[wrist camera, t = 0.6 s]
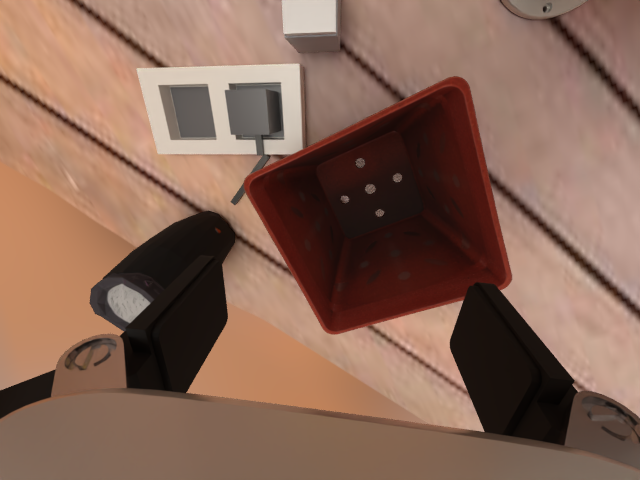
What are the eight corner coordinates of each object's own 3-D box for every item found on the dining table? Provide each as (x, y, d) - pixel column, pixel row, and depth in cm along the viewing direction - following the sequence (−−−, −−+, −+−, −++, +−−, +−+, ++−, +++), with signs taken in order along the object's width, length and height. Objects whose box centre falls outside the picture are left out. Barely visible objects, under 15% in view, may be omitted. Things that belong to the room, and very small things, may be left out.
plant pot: (280, 152, 39) (236, 180, 24) (415, 86, 34) (467, 68, 19) (334, 262, 46) (327, 338, 31) (454, 220, 41) (515, 287, 26)
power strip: (152, 71, 36) (113, 64, 30) (303, 67, 34) (293, 58, 28) (182, 202, 44) (156, 217, 38) (308, 205, 42) (300, 221, 36)
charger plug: (297, 0, 32) (278, -37, 23) (340, -2, 31) (337, -41, 23) (299, 52, 34) (282, 35, 26) (340, 51, 33) (336, 33, 25)
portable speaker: (225, 201, 43) (138, 265, 25) (246, 253, 47) (183, 340, 29) (177, 212, 45) (65, 279, 27) (201, 261, 48) (116, 349, 31)
